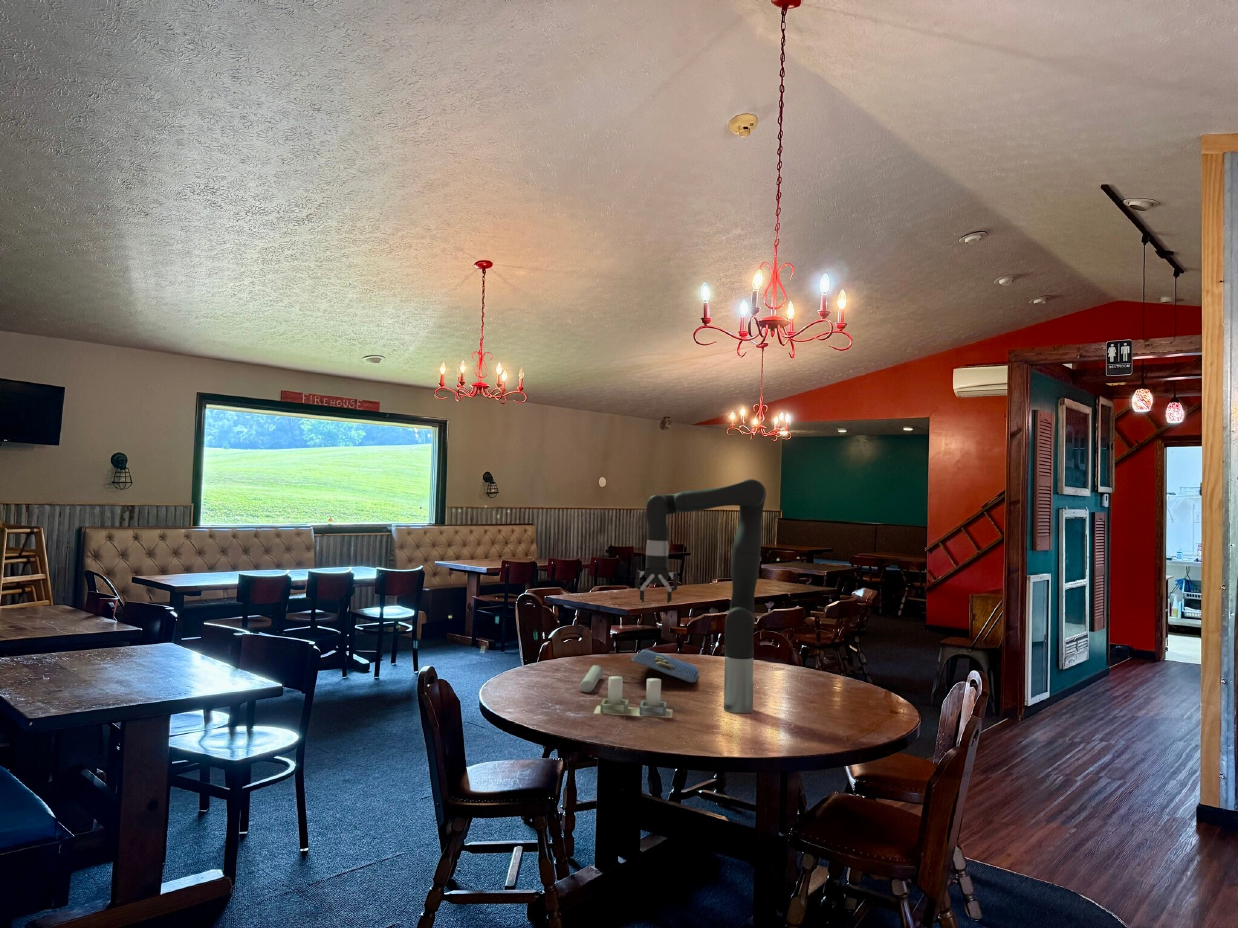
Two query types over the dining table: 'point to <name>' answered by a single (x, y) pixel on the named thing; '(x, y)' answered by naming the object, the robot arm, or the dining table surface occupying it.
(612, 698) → the white peg
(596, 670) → the tube
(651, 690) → the seated sleeve
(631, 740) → the dining table surface
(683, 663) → the serving platter
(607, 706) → the board
